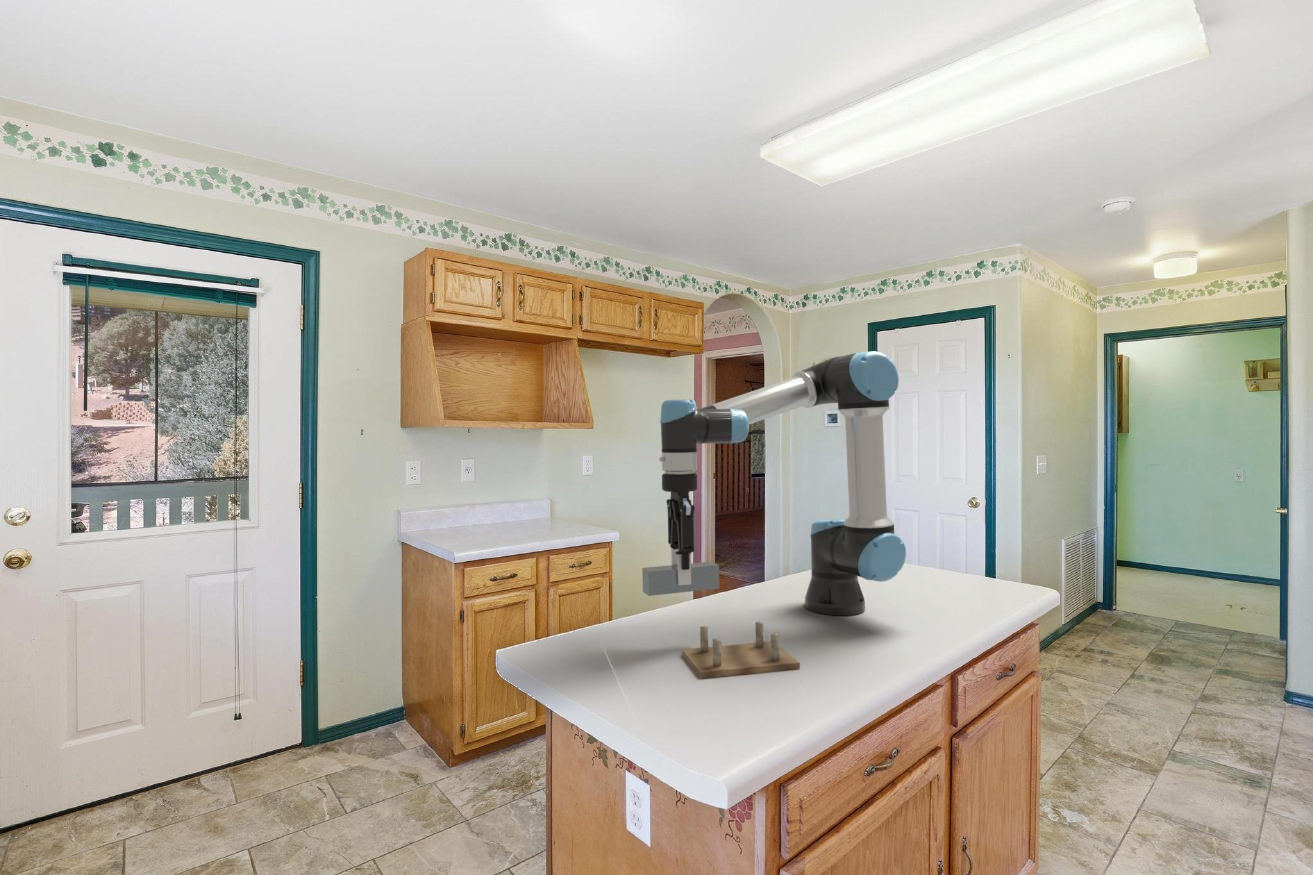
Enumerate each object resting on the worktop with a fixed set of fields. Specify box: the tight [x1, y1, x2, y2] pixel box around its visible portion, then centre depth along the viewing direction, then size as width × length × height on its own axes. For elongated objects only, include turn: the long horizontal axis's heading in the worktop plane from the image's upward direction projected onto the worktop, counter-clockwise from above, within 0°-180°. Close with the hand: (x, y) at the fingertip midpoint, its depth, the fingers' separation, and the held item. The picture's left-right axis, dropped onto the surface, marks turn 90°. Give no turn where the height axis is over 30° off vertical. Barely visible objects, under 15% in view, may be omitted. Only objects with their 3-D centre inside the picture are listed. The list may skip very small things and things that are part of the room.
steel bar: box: [641, 561, 720, 597], centre depth 137 cm, size 16×4×5 cm, turn 110°
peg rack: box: [681, 621, 801, 680], centre depth 128 cm, size 20×13×6 cm, turn 103°
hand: (681, 581), depth 137 cm, fingers closed on steel bar, 4 cm apart
